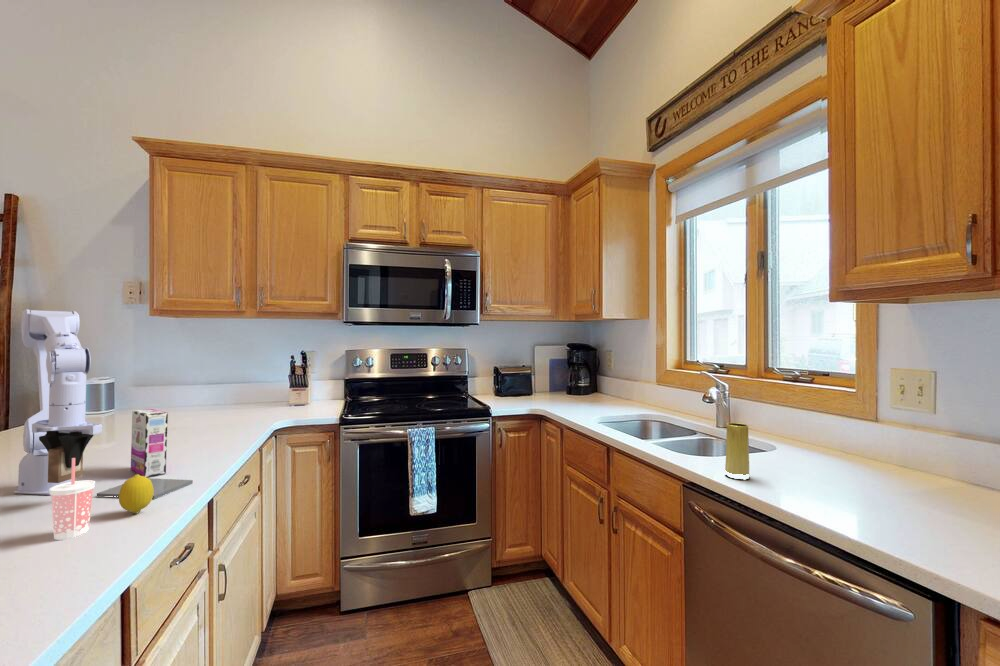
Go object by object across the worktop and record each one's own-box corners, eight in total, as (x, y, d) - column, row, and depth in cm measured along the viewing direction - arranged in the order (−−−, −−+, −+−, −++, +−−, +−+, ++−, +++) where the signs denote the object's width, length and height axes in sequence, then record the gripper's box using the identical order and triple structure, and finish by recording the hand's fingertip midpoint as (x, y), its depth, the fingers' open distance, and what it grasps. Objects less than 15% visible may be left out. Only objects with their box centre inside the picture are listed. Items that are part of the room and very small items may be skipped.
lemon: (133, 520, 87) (134, 479, 87) (111, 517, 88) (111, 477, 88) (160, 509, 93) (160, 471, 93) (138, 507, 94) (139, 469, 94)
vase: (721, 473, 123) (721, 421, 123) (744, 474, 122) (744, 422, 122) (729, 479, 117) (729, 426, 117) (754, 481, 116) (754, 427, 116)
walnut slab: (47, 482, 93) (48, 449, 93) (72, 475, 98) (73, 443, 98) (58, 483, 93) (59, 449, 93) (82, 475, 98) (83, 444, 98)
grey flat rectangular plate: (96, 496, 99) (96, 493, 99) (140, 481, 110) (140, 478, 110) (154, 499, 98) (154, 495, 98) (192, 483, 109) (192, 480, 109)
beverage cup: (91, 524, 85) (93, 452, 85) (97, 533, 81) (99, 457, 81) (46, 534, 80) (47, 458, 81) (50, 545, 76) (52, 464, 77)
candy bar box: (167, 473, 116) (169, 412, 117) (144, 478, 112) (145, 414, 113) (152, 466, 123) (153, 407, 123) (129, 470, 119) (131, 410, 119)
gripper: (15, 405, 92) (14, 470, 92) (79, 407, 91) (77, 473, 91) (52, 400, 99) (51, 461, 99) (112, 402, 98) (110, 463, 98)
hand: (66, 466), depth 95 cm, fingers closed on walnut slab, 2 cm apart
